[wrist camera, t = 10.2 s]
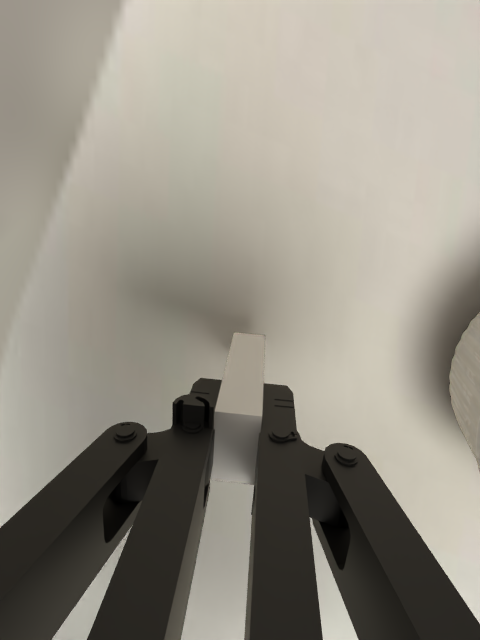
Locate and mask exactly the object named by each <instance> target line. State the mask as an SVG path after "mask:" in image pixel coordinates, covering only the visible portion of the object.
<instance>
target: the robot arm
mask: <svg viewBox="0 0 480 640" xmlns="http://www.w3.org/2000/svg"><path fill="white" fill-rule="evenodd" d="M264 359H265V335H256V334H246V333H235V332H234V334H233V338H232V342H231V346H230V350H229V354H228V359H227V363H226V367H225V371H224V375H223V379H222V380H215V379H205V378H200V379H199V380H198V381H196V382H195V383H194V384H193V386H192V389H191V392H190V394H188V395H184V396H181V397H179V398H177V399H176V400H175V401H174V402H173V425H172V427H171V429H169V430H166V431H162V432H157V433H148V434H147V430H146V428H145V427H144V426H143V425H141V424H139V423H135V422H123V423H119V424H116V425H113V426H112V427H110V428H109V429H107V430H106V431H105V432H104V433H103V434H102V435H101V436H99V437H98V438H97V439H96V440H95V441H94V442H93V443H92V444H91V445H90V446H89V447H88V448H86V449H85V450H84V451H83V452H82V453H81V454H80V455H79V456H78V457H77V458H76V459H75V460H73V461H72V462H71V463H70V464H69V465H68V466H67V467H66V468H65V469H64V470H63V471H61V472H60V473H59V474H58V475H57V476H56V477H55V478H54V479H53V480H52V481H51V482H50V483H48V484H47V485H46V486H45V487H44V488H43V489H42V490H41V491H40V492H39V493H38V494H37V495H35V496H34V497H33V498H32V499H31V500H30V501H29V502H28V503H27V504H26V505H25V506H24V507H22V508H21V509H20V510H19V511H18V512H17V513H16V514H15V515H14V516H13V517H12V518H11V519H9V520H8V521H7V522H6V523H5V524H4V525H3V526H2V527H1V528H0V640H51V639H52V638H53V636H54V635H55V634H56V632H57V631H58V629H59V628H60V627H61V625H62V624H63V622H64V621H65V619H66V618H67V617H68V615H69V614H70V612H71V611H72V609H73V608H74V607H75V605H76V604H77V602H78V601H79V600H80V598H81V597H82V595H83V594H84V592H85V591H86V590H87V588H88V587H89V585H90V584H91V583H92V581H93V580H94V578H95V577H96V575H97V574H98V573H99V571H100V570H101V568H102V567H103V566H104V564H105V563H106V561H107V560H108V558H109V557H110V556H111V554H112V553H113V551H114V550H115V549H116V547H117V546H118V544H119V543H120V541H121V540H122V539H123V537H124V536H125V534H126V533H127V532H128V530H129V529H130V527H131V526H132V524H133V526H132V528H131V531H130V533H129V536H128V538H127V541H126V543H125V546H124V548H123V551H122V553H121V556H120V558H119V561H118V563H117V566H116V568H115V571H114V573H113V576H112V578H111V581H110V583H109V586H108V588H107V591H106V594H105V596H104V599H103V601H102V604H101V606H100V609H99V611H98V614H97V616H96V619H95V621H94V624H93V626H92V629H91V631H90V634H89V636H88V639H87V640H181V635H182V630H183V624H184V619H185V614H186V609H187V604H188V599H189V594H190V589H191V583H192V578H193V573H194V568H195V563H196V558H197V553H198V547H199V542H200V537H201V532H202V527H203V522H204V517H205V511H206V506H207V501H208V496H209V488H210V477H211V480H217V481H226V482H235V483H244V484H252V485H254V494H253V503H252V513H251V515H252V524H251V540H250V557H249V573H248V589H247V606H246V622H245V638H244V640H323V638H322V628H321V619H320V610H319V601H318V592H317V582H316V573H315V564H314V555H313V545H312V536H311V527H310V518H309V517H311V518H312V520H313V525H314V527H315V530H316V533H317V535H318V538H319V540H320V543H321V545H322V548H323V550H324V553H325V555H326V558H327V560H328V563H329V566H330V568H331V571H332V573H333V576H334V578H335V581H336V583H337V586H338V588H339V591H340V593H341V596H342V599H343V601H344V604H345V606H346V609H347V611H348V614H349V616H350V619H351V621H352V624H353V626H354V629H355V632H356V634H357V637H358V639H359V640H480V624H479V622H478V621H477V619H476V618H475V616H474V615H473V613H472V612H471V611H470V609H469V608H468V606H467V605H466V603H465V602H464V600H463V599H462V597H461V596H460V594H459V593H458V591H457V590H456V588H455V587H454V585H453V584H452V582H451V581H450V579H449V578H448V576H447V575H446V573H445V572H444V570H443V569H442V568H441V566H440V565H439V563H438V562H437V560H436V559H435V557H434V556H433V554H432V553H431V551H430V550H429V548H428V547H427V545H426V544H425V542H424V541H423V539H422V538H421V536H420V535H419V533H418V532H417V530H416V529H415V527H414V526H413V525H412V523H411V522H410V520H409V519H408V517H407V516H406V514H405V513H404V511H403V510H402V508H401V507H400V505H399V504H398V502H397V501H396V499H395V498H394V496H393V495H392V493H391V492H390V490H389V489H388V487H387V486H386V485H385V483H384V482H383V480H382V479H381V477H380V476H379V474H378V473H377V471H376V470H375V468H374V467H373V465H372V464H371V462H370V461H369V459H368V458H367V456H366V455H365V454H364V453H363V452H362V451H361V450H359V449H357V448H356V447H354V446H351V445H348V444H343V443H335V444H331V445H329V446H328V447H326V449H325V451H322V450H319V449H316V448H314V447H311V446H309V445H307V444H306V443H304V442H303V441H302V440H301V437H300V435H299V433H298V432H297V429H296V419H295V409H294V399H293V393H292V391H291V390H290V389H289V388H288V386H284V385H274V384H264Z"/></svg>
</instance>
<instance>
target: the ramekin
mask: <svg viewBox="0 0 480 640" xmlns="http://www.w3.org/2000/svg"><path fill="white" fill-rule="evenodd" d="M449 380H450V386H449V391H450V395H451V404H452V407H453V410H454V412H455V417H456V419H457V422H458V424H459V426H460V428H461V430H462V433H463V435H464V437H465V438H466V440H467V442H468V444H469V446H470V448H471V450H472V452H473V454H474V456H475V458H476V460H477V463H478V468H479V472H480V312H479V313H478V315H477V316H476V317H475V318H474V319H473V320H472V321H471V322H470V324H469V326H468V328H467V329H466V330H465V331H464V332H463V334H462V336H461V340H460V341H459V343H458V345H457V346H456V349H455V355H454V357H453V359H452V362H451V371H450V374H449Z"/></svg>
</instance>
